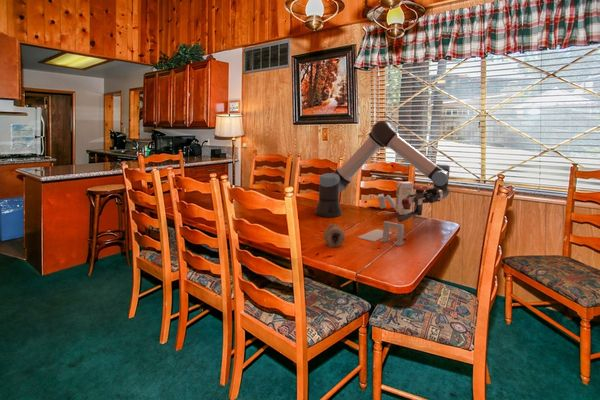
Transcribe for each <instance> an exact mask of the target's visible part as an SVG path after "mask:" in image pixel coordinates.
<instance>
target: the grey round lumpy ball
mask: <svg viewBox="0 0 600 400" xmlns="http://www.w3.org/2000/svg"><path fill="white" fill-rule="evenodd" d="M323 235H324V237H323V238H324V242H325V244H326V246H328V247H329V248H339V247H340V246H342V245H343V243H344V242H345V240H346V236H345V231H344V230H343V228H341V227H340V225H339V224H334V223H333V224H330V225H328V226H327V227H326V229H325V230H324V232H323Z"/></svg>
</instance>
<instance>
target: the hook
mask: <svg viewBox="0 0 600 400" xmlns="http://www.w3.org/2000/svg"><path fill="white" fill-rule="evenodd" d="M427 189H429V188H428V186H426V185H419V184H418V185H413V190H415V193H414V194H415V202H413V203H414V205H413V206H414V207H413V210H412V212H410V213H408V214H405V215H400V216H397V218H396V220H397V222H398V223H401V222H403V221H406V220H408V219H411V218H414V217H416V216H418V217H419V216H422V215H423V206H424V204H421V205H418V199H421V198H423V197H424V192H425V191H426V190H427Z"/></svg>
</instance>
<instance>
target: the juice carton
mask: <svg viewBox="0 0 600 400" xmlns="http://www.w3.org/2000/svg"><path fill="white" fill-rule="evenodd" d="M413 186H414V183H413V182H412V181H398V182H397V185H396V193H395V194H396V195H395V196H396V198H395V204H396V208H395V212H396V214H398V215H400V216H403V215H405V214H408V213H410V212H413V203H409V198H410V195H412V194H414V189H413Z"/></svg>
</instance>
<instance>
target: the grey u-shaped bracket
mask: <svg viewBox="0 0 600 400" xmlns="http://www.w3.org/2000/svg"><path fill="white" fill-rule="evenodd" d="M382 225H383V226H382V227H383V229H382V230H383V238H382V239H380V242H382V243H387V242H389V241H391V238H390V235H389V232H390V229H395V230H397V233H396V242H394V246H398V247H400V246H402V245H404V244H405V241H404V231H405V224H402V223H399V222H398V223H397V222H392V221H387V220H385V221H383V224H382Z"/></svg>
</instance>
